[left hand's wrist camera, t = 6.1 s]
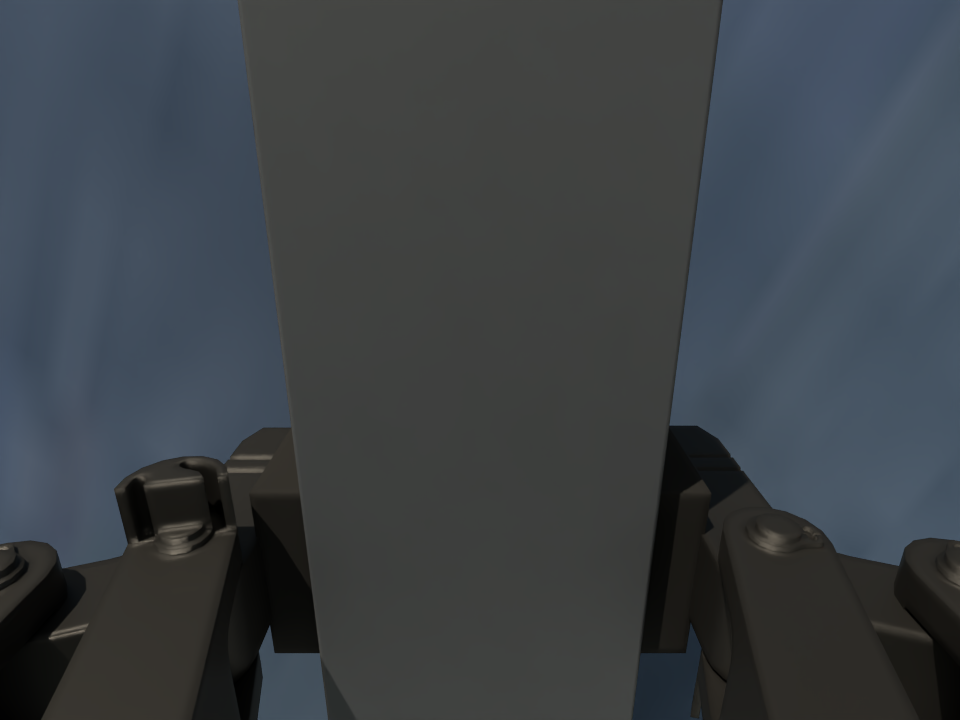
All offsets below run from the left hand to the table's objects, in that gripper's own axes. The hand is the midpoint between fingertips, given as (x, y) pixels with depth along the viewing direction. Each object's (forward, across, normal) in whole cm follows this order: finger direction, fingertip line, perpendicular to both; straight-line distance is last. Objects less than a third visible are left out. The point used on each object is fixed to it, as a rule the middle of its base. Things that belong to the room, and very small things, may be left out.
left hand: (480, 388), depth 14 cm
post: (0, 0, -23) cm, 23 cm away
